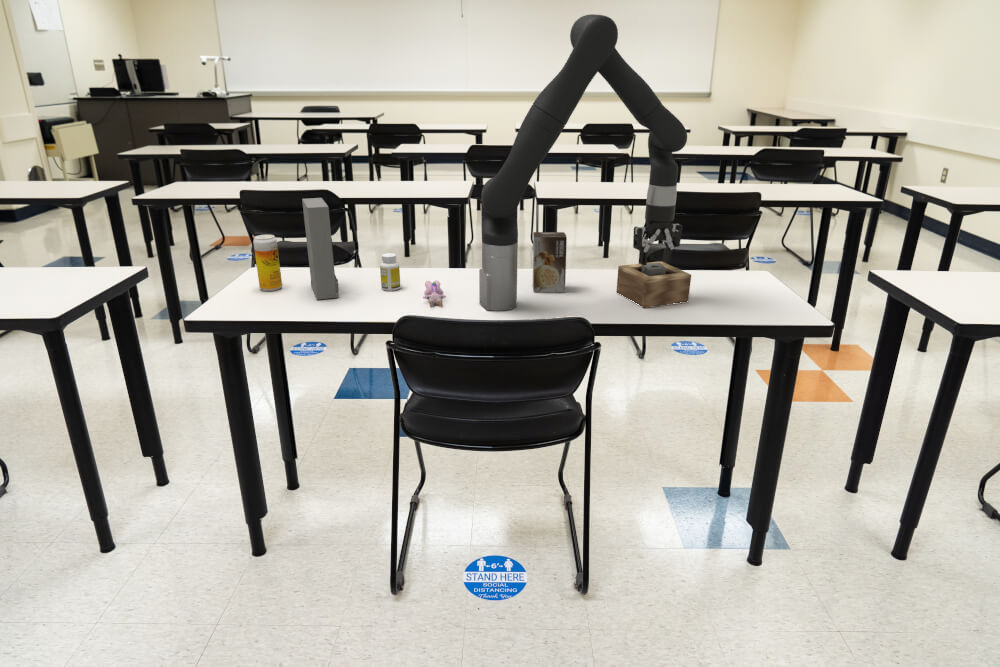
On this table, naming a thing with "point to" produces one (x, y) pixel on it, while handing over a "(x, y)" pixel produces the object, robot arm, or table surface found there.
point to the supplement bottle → (389, 272)
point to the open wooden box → (653, 285)
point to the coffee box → (549, 261)
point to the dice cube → (653, 269)
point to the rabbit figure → (434, 293)
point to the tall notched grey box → (320, 248)
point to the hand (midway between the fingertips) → (654, 263)
